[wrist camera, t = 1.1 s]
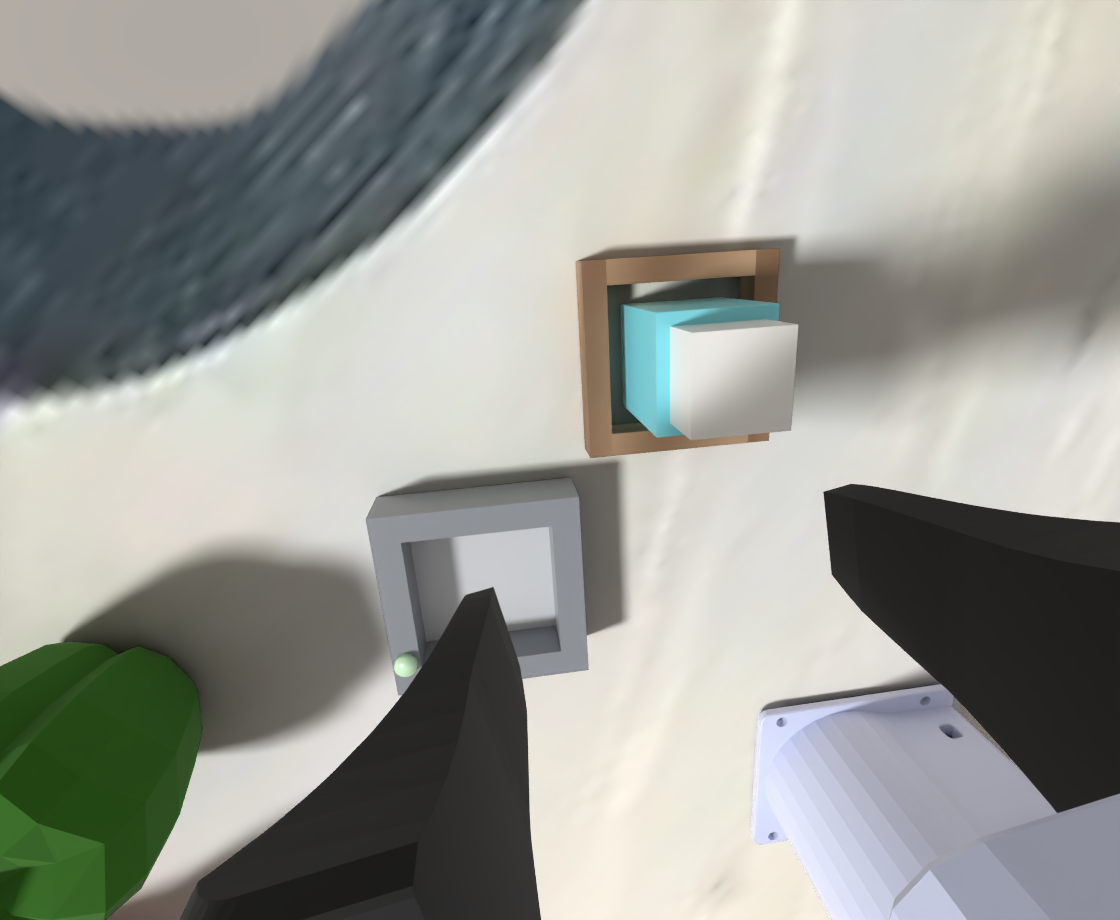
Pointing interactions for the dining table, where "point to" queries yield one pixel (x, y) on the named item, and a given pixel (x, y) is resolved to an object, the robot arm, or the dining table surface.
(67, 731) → the bell pepper
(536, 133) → the dining table surface
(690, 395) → the plug
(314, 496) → the dining table surface
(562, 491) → the port
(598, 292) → the wooden square frame
